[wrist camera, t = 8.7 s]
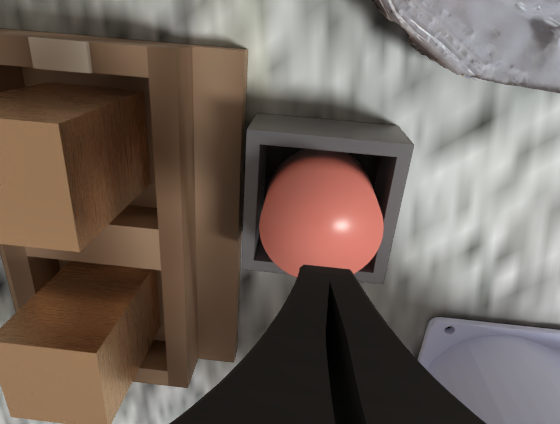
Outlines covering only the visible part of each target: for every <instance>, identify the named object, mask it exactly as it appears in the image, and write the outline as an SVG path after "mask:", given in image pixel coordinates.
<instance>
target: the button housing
mask: <svg viewBox="0 0 560 424" xmlns="http://www.w3.org/2000/svg"><path fill="white" fill-rule="evenodd" d="M267 145H273V146H284V147H294V148H305V149H316V150H326V151H337V152H348V153H359V154H369V155H380V161H379V166H378V171H377V177H376V182H375V187H374V193H375V196H376V198H377V201H378V204H379V207H380V210H381V213H382V216H383V223H384V230H383V237H382V241H381V244H380V246H379V248H378V251H377V252H376V254H375V255H374V257H373V258H372V259H371V260H370V262H369V263H368V264H367V265H365V266H364V267H363V268H362V269H360V270H359V271H358V272H356V273H354V275H355V277H356V279H357V280H358V281H359V282H368V283H377V284H383V283H384V278H385V274H386V269H387V265H388V260H389V256H390V251H391V247H392V242H393V238H394V233H395V229H396V224H397V220H398V215H399V211H400V206H401V202H402V197H403V193H404V188H405V184H406V180H407V175H408V171H409V166H410V162H411V157H412V153H413V148H414V144H413V143H412V142H411V140H410V139H409V138H408V137H407V136H406V134H405V133H404V132H403V131H402V130H401V128H400V127H399V126H396V125H385V124H374V123H363V122H352V121H341V120H330V119H319V118H308V117H297V116H286V115H275V114H264V113H257V114H256V116H255V117H254V119H253V121H252V122H251V124H250V125H249V127H248V128H247V136H246V162H245V188H244V214H243V240H242V267H241V269H245V270H254V271H264V272H273V273H283V274H288V273H287V272H285V271H284V270H282V269H281V268H279V267H278V266H277V265H276V264H275V263H274V262H273V261H272V260H271V258H270V257H269V256H268V254H267V253H266V251H265V249H264V247H263V244H262V241H261V238H260V232H259V223H260V216H261V213H262V209H263V203H264V187H265V171H266V154H267Z"/></svg>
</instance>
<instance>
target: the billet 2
mask: <svg viewBox="0 0 560 424" xmlns="http://www.w3.org/2000/svg"><path fill="white" fill-rule="evenodd" d="M160 326H161V324H160V310H159V295H158V281H157V270H153V269H144V268H134V267H125V266H115V265H106V264H97V263H87V262H78V261H69V262H68V263H67V264H66V265H65V266H64V267H63V268H62V269H61V270H60V271H59V272H58V273H57V274H56V275H55V276H54V277H53V278H52V279H51V280H50V281H49V282H48V283H47V284H45V285H44V286H43V287H42V288H41V289H40V290H39V291H38V292H37V293H36V294H35V295H34V296H33V297H32V298H31V299H30V300H29V301H28V302H27V303H26V304H25V305H24V306H23V307H22V308H21V309H20V310H19V311H18V312H17V313H16V314H14V315H13V316H12V317H11V318H10V319H9V320H8V321H7V322H6V323H5V324H4V325H3V326H2V327H1V328H0V383H1V387H2V390H3V393H4V396H5V399H6V402H7V406H8V409H9V412H10V415H11V417H16V418H24V419H32V420H40V421H49V422H57V423H65V424H111V423H112V421H113V419H114V417H115V415H116V413H117V411H118V409H119V407H120V405H121V403H122V401H123V399H124V397H125V395H126V393H127V391H128V389H129V387H130V385H131V383H132V382H133V380H134V378H135V376H136V374H137V372H138V370H139V368H140V366H141V364H142V362H143V360H144V358H145V356H146V354H147V352H148V350H149V348H150V346H151V344H152V342H153V340H154V338H155V336H156V334H157V332H158V330H159V328H160Z"/></svg>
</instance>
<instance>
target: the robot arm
mask: <svg viewBox="0 0 560 424" xmlns="http://www.w3.org/2000/svg"><path fill="white" fill-rule="evenodd" d="M448 326H452V327H451V328H449V329H445V328H446V327H448ZM170 424H560V330H555V329H546V328H537V327H528V326H518V325H509V324H500V323H491V322H481V321H472V320H463V319H454V318H444V317H436V318H433V319H432V320H430V321H429V323H428V326H427V330H426V333H425V336H424V340H423V343H422V346H421V350H420V353H419V357H418V360H417V359H416V358H415V357H414V356H413V355H412V354H411V353H410V352H409V350H408V349H407V348H406V347H405V346H404V345H403V343H402V342H401V341H400V340H399V338H398V337H397V336H396V335H395V334H394V332H393V331H392V330H391V328H390V327H389V326H388V325H387V323H386V322H385V320H384V319H383V318H382V316H381V315H380V314H379V312H378V311H377V309H376V308H375V307H374V305H373V304H372V302H371V301H370V299H369V298H368V296H367V295H366V293H365V292H364V290H363V288H362V287H361V285H360V284H359V282H358V280H357V279H356V277H355V275H354V274H353V272H352V271H351V270H350V269H342V268H333V267H323V266H314V265H303V266H301V267H300V268H299V273H298V277H297V280H296V282H295V284H294V286H293V289H292V291H291V293H290V294H289V296H288V298H287V300H286V302H285V303H284V305H283V307H282V309H281V310H280V312H279V313H278V315H277V316H276V318H275V319H274V321H273V322H272V323H271V325H270V326H269V328H268V329H267V331H266V332H265V333H264V335H263V336H262V337H261V338H260V340H259V341H258V342H257V343H256V345H255V346H254V347H253V348H252V349H251V350H250V352H249V353H248V354H247V355H246V356H245V357H244V358H243V359H242V360H241V362H240V363H239V364H238V365H237V366H236V367H235V368H234V369H233V370H232V371H231V372H230V373H229V374H228V375H227V376H226V377H225V378H224V379H223V380H222V381H221V382H220V383H219V384H217V385H216V386H215V387H214V388H213V389H212V390H211V391H209V392H208V393H207V394H206V395H205V396H203V397H202V398H201V399H200V400H199V401H198V402H196V403H195V404H194V405H193V406H192V407H191V408H189V409H188V410H187V411H186V412H184V413H183V414H182V415H181V416H179V417H178V418H177V419H175V420H174V421H172V422H171V423H170Z"/></svg>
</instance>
